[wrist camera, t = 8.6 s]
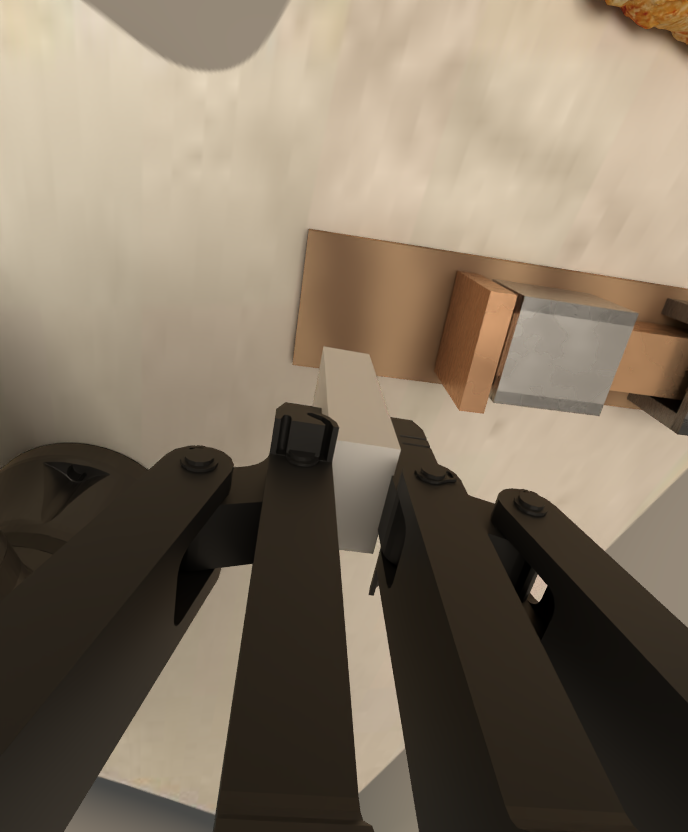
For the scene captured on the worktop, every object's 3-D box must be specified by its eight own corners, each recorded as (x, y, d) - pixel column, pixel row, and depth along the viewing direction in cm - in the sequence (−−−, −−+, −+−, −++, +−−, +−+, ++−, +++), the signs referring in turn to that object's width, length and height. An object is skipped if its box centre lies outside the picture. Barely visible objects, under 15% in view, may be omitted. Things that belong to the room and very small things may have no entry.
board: (293, 359, 38) (292, 364, 36) (308, 228, 34) (308, 230, 33) (694, 411, 41) (704, 417, 40) (747, 298, 38) (760, 301, 36)
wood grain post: (433, 370, 37) (459, 410, 31) (457, 270, 34) (490, 291, 28) (684, 403, 39) (757, 447, 33) (726, 312, 36) (814, 340, 30)
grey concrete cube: (468, 371, 37) (493, 402, 32) (492, 278, 35) (524, 296, 30) (559, 383, 38) (599, 416, 33) (590, 293, 36) (638, 313, 30)
